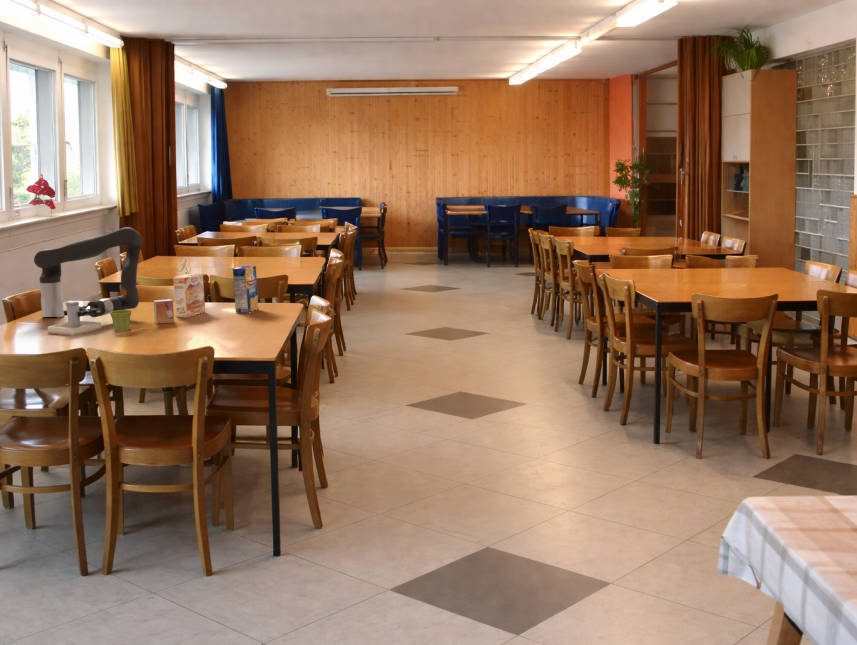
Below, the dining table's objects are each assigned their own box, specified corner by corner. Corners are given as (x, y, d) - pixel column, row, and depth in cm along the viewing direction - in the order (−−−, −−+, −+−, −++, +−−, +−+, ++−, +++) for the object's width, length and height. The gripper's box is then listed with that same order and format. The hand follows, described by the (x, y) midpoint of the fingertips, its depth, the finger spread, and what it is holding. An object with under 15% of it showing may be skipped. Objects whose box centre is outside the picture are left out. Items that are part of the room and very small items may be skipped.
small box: (156, 324, 374) (154, 301, 372) (154, 322, 379) (152, 300, 377) (174, 322, 378) (172, 300, 376) (172, 320, 383) (170, 298, 381)
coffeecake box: (187, 317, 389) (184, 277, 385) (175, 317, 391) (172, 277, 388) (206, 312, 403) (203, 273, 399) (194, 311, 405) (191, 273, 401)
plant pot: (120, 328, 367) (118, 309, 365) (138, 329, 364) (136, 310, 362) (106, 332, 358) (104, 313, 356) (124, 333, 355) (122, 313, 354)
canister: (65, 330, 358) (62, 303, 356) (75, 327, 363) (72, 301, 361) (74, 330, 356) (71, 304, 354) (84, 328, 361) (81, 302, 359)
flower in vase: (181, 303, 430) (177, 256, 425) (203, 302, 431) (199, 256, 426) (176, 307, 417) (172, 259, 412) (198, 307, 418) (195, 258, 413)
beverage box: (235, 313, 399) (232, 268, 395) (246, 309, 409) (243, 265, 405) (248, 313, 397) (245, 268, 393) (258, 309, 407) (255, 266, 403)
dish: (48, 333, 356) (47, 326, 356) (76, 326, 370) (76, 320, 369) (73, 335, 350) (72, 329, 349) (101, 329, 363) (100, 322, 363)
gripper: (88, 298, 374) (58, 304, 360) (110, 300, 368) (81, 306, 353) (89, 314, 375) (60, 321, 361) (112, 316, 369) (83, 323, 355)
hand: (71, 313), depth 357 cm, fingers open, 8 cm apart
